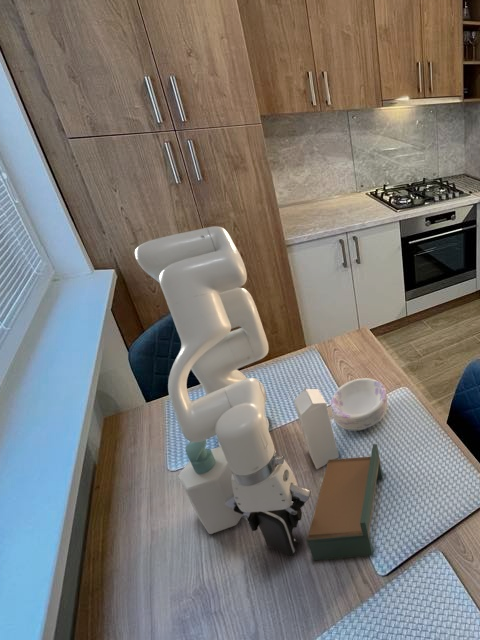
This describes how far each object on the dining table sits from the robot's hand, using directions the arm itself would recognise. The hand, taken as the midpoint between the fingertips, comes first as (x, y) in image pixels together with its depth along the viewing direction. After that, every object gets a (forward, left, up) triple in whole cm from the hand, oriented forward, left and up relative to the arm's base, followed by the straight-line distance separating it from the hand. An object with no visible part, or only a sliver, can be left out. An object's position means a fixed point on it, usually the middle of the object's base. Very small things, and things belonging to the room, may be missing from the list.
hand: (277, 521), depth 83 cm
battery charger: (0, 0, -7) cm, 7 cm away
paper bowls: (+11, +33, -8) cm, 36 cm away
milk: (+3, +21, -7) cm, 22 cm away
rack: (+13, +5, -7) cm, 16 cm away
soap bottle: (-16, +8, -7) cm, 19 cm away
